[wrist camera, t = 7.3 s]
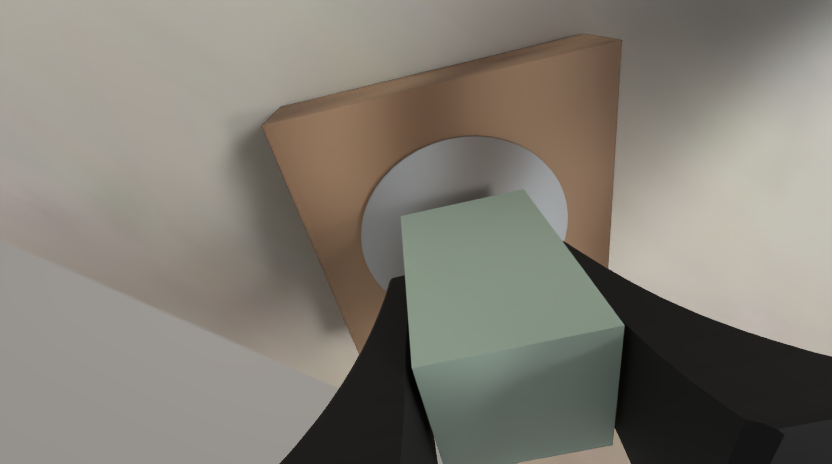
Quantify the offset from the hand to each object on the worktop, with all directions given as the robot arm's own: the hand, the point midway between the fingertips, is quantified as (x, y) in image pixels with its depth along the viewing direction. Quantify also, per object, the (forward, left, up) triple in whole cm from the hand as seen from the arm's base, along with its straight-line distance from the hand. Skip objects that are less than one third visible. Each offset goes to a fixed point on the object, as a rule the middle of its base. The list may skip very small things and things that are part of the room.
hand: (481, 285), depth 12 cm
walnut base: (0, 0, -5) cm, 5 cm away
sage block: (0, 0, -2) cm, 2 cm away
